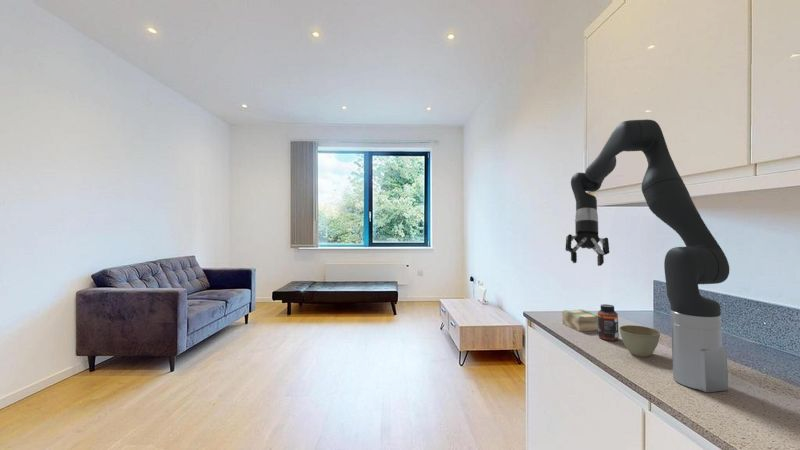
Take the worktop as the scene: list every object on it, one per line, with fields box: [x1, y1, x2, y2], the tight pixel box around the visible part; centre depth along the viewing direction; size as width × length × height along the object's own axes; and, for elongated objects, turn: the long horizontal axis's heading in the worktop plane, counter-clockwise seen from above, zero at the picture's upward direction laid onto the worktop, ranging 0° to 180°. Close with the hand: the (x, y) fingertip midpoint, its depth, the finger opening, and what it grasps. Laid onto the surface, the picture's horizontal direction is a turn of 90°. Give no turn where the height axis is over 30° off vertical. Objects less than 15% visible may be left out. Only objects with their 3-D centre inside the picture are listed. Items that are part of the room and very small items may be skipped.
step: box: [561, 309, 598, 332], centre depth 129 cm, size 10×9×5 cm
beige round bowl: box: [618, 324, 661, 358], centre depth 101 cm, size 10×10×7 cm
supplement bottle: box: [597, 303, 620, 342], centre depth 115 cm, size 6×6×11 cm
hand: (587, 264), depth 123 cm, fingers open, 8 cm apart
